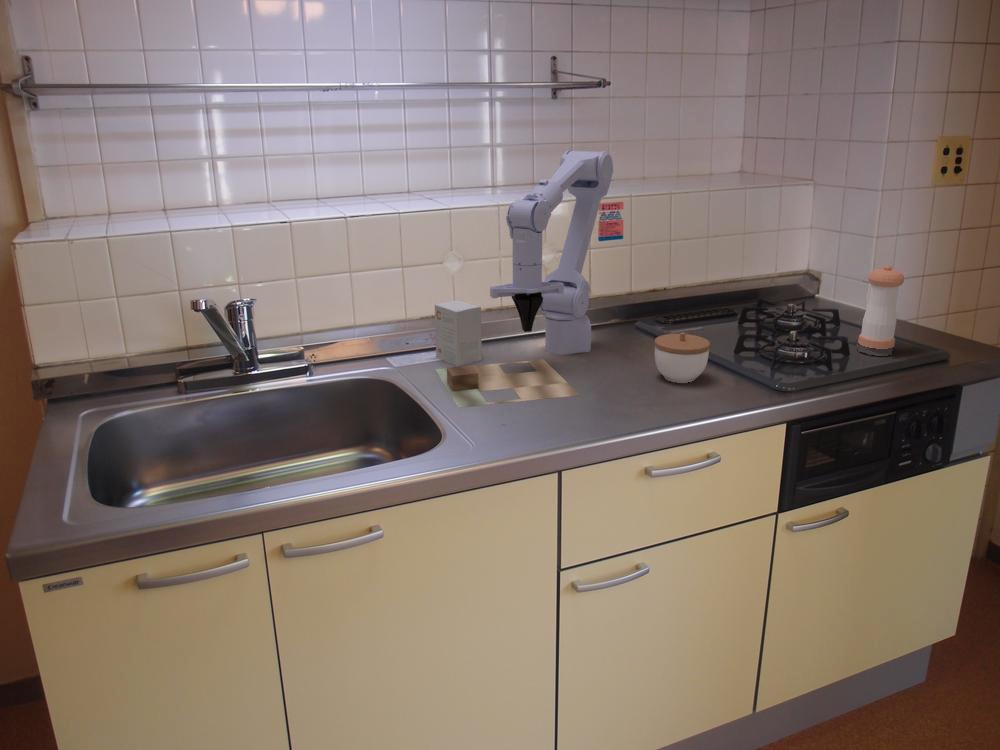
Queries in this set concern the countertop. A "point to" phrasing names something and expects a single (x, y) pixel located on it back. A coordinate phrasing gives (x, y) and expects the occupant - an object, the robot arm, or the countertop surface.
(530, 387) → the board
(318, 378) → the countertop surface
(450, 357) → the small box
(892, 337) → the pepper shaker
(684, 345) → the lidded jar
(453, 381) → the block
